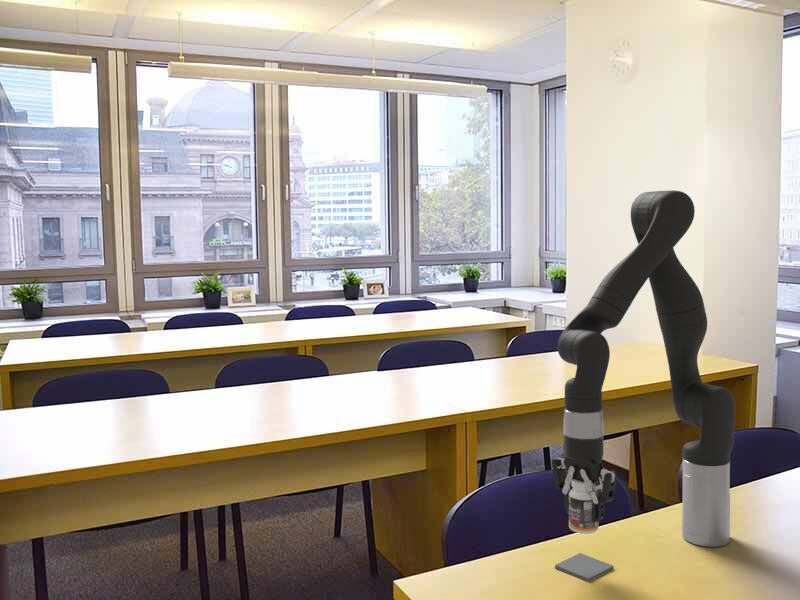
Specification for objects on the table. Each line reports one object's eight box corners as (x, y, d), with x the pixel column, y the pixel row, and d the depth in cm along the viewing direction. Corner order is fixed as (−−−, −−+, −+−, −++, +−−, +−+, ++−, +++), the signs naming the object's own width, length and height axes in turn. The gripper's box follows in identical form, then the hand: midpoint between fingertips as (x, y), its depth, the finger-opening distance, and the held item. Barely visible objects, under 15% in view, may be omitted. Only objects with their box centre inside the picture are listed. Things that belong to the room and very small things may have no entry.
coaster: (579, 555, 152) (579, 552, 152) (613, 568, 146) (613, 565, 146) (555, 567, 147) (554, 565, 147) (588, 581, 141) (588, 578, 141)
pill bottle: (563, 526, 147) (562, 477, 146) (586, 521, 149) (586, 473, 148) (580, 537, 142) (580, 486, 141) (605, 531, 144) (604, 481, 143)
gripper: (626, 435, 141) (626, 521, 142) (565, 421, 152) (566, 502, 153) (603, 443, 136) (603, 532, 137) (541, 428, 147) (542, 511, 148)
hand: (583, 516), depth 145 cm, fingers closed on pill bottle, 5 cm apart
